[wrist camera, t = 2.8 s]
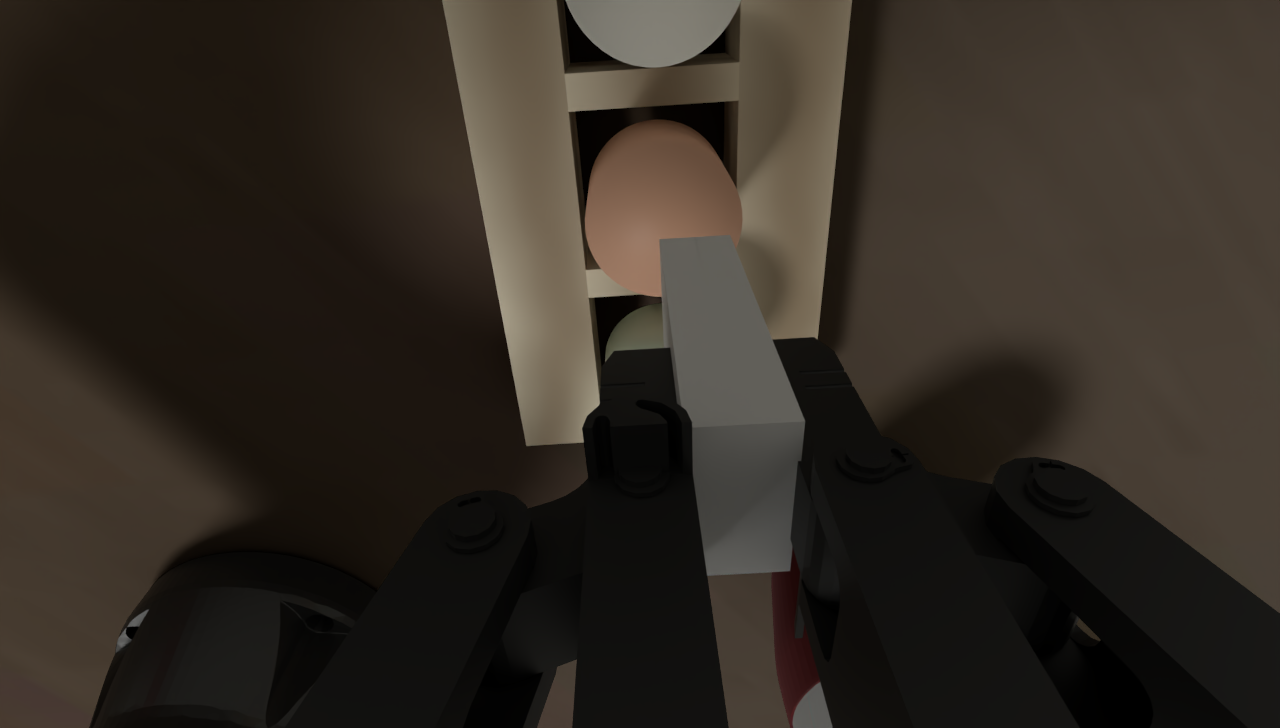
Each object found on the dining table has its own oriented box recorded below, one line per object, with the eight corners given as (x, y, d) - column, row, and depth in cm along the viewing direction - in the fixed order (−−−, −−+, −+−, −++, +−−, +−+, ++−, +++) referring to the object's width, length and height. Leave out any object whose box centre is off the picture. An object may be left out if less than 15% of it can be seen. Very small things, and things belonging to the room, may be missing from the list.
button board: (534, 405, 30) (526, 445, 27) (432, -181, 19) (403, -206, 16) (791, 388, 30) (808, 427, 27) (840, -208, 19) (876, -237, 16)
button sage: (610, 407, 26) (609, 463, 23) (600, 306, 24) (598, 354, 21) (722, 400, 26) (735, 455, 23) (723, 298, 24) (738, 344, 21)
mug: (857, 416, 31) (951, 586, 22) (963, 489, 33) (1084, 665, 25) (715, 544, 35) (748, 729, 26) (820, 599, 37) (880, 783, 29)
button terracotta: (595, 258, 23) (592, 301, 20) (582, 124, 20) (577, 149, 17) (724, 250, 23) (740, 291, 20) (725, 114, 20) (744, 138, 17)
